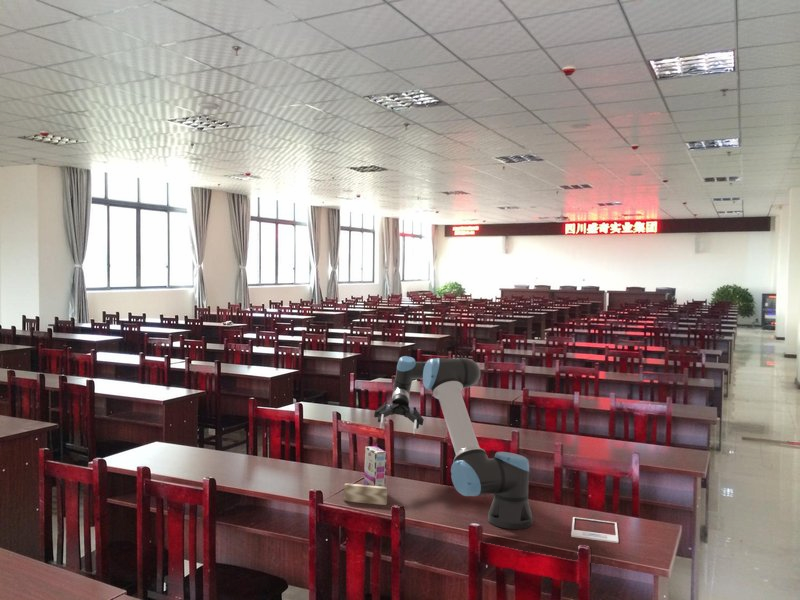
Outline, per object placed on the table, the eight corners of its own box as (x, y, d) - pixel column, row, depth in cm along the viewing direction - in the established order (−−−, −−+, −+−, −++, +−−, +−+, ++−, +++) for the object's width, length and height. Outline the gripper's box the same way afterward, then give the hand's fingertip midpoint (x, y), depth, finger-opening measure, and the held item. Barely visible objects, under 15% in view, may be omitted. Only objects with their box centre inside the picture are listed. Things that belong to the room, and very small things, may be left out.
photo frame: (571, 534, 206) (573, 516, 223) (571, 537, 206) (572, 519, 223) (618, 541, 202) (616, 521, 219) (618, 544, 202) (616, 525, 219)
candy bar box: (386, 494, 244) (387, 452, 243) (374, 495, 241) (375, 453, 241) (374, 485, 254) (376, 445, 253) (363, 487, 252) (364, 446, 251)
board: (386, 503, 233) (387, 487, 233) (385, 505, 231) (386, 488, 231) (345, 499, 236) (345, 483, 236) (343, 500, 234) (344, 484, 234)
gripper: (427, 413, 272) (427, 441, 252) (370, 404, 272) (365, 431, 252) (430, 398, 269) (430, 425, 250) (372, 389, 269) (368, 415, 249)
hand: (397, 428), depth 251 cm, fingers open, 13 cm apart
